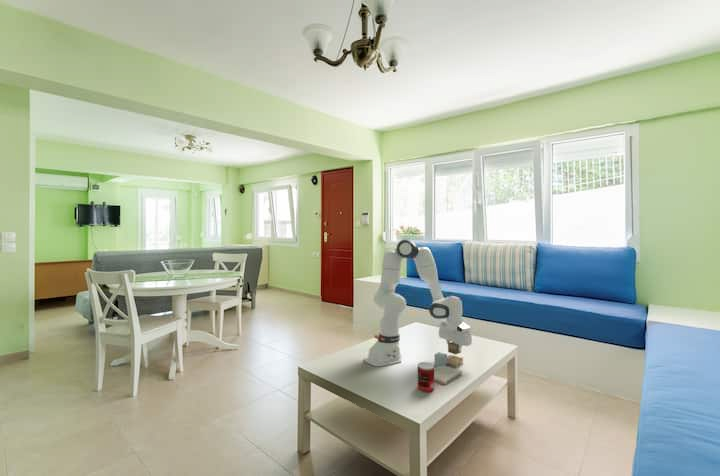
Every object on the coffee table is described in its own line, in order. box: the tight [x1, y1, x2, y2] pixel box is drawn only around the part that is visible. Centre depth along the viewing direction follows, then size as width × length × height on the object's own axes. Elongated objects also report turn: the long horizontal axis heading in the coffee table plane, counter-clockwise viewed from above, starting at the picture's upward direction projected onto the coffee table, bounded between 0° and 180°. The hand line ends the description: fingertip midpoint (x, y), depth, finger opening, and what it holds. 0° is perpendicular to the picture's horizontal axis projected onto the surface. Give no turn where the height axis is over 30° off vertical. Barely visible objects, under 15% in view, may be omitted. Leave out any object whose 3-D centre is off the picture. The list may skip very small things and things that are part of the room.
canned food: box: [417, 361, 435, 393], centre depth 150 cm, size 8×8×11 cm
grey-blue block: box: [434, 351, 448, 367], centre depth 177 cm, size 5×5×6 cm
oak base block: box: [447, 353, 464, 368], centre depth 180 cm, size 7×7×4 cm
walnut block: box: [447, 341, 462, 355], centre depth 180 cm, size 5×5×5 cm
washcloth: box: [434, 365, 463, 386], centre depth 163 cm, size 12×18×3 cm, turn 136°
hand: (454, 349), depth 180 cm, fingers closed on walnut block, 5 cm apart
